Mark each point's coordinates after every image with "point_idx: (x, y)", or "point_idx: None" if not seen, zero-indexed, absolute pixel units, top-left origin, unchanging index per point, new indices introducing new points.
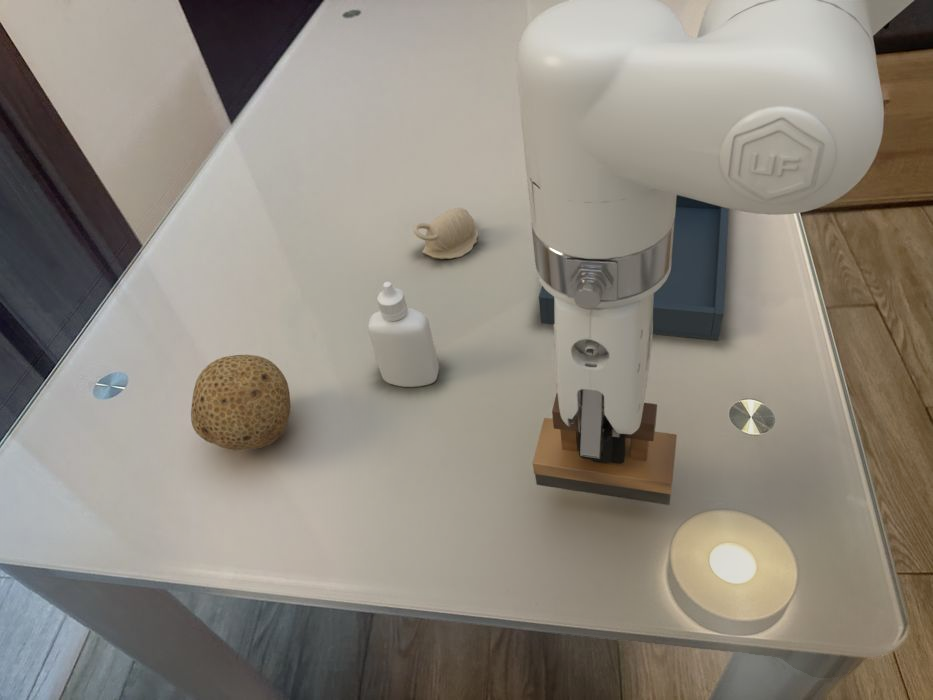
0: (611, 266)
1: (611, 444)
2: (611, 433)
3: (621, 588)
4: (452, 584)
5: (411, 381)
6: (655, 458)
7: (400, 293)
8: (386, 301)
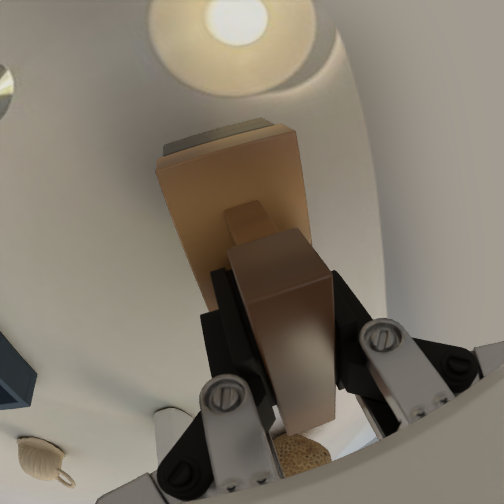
0: None
1: (362, 307)
2: (456, 358)
3: (327, 134)
4: (367, 283)
5: (188, 421)
6: (245, 185)
7: None
8: None
